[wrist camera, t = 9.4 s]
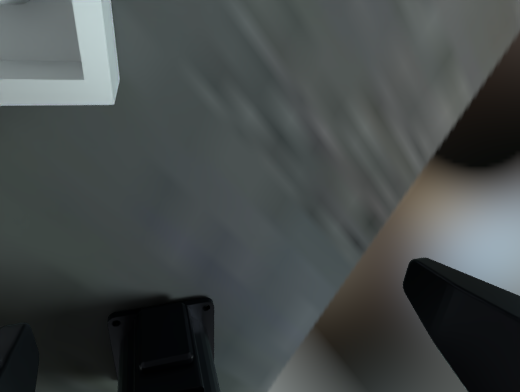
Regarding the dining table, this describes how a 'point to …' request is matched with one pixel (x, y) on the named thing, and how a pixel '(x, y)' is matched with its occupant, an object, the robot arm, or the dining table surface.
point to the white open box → (57, 53)
